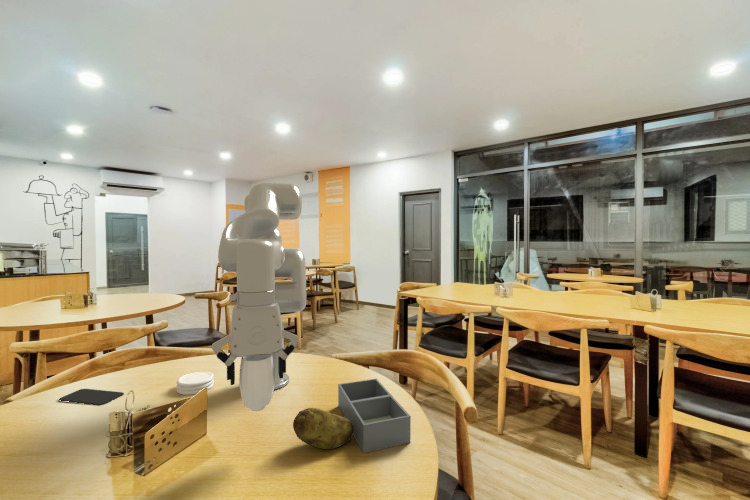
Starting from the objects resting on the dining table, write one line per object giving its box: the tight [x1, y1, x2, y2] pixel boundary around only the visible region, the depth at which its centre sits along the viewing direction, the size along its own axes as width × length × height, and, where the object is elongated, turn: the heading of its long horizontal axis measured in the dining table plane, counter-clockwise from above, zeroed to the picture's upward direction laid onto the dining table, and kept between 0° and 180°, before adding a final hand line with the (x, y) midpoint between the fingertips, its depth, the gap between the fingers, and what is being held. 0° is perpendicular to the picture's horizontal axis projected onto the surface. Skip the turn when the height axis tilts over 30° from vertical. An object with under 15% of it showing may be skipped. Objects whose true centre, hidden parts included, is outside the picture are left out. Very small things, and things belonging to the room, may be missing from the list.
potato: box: [292, 407, 354, 450], centre depth 77 cm, size 8×13×8 cm, turn 87°
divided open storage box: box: [337, 378, 412, 454], centre depth 87 cm, size 22×11×6 cm, turn 20°
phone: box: [58, 388, 125, 406], centre depth 100 cm, size 7×1×15 cm
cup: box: [239, 354, 275, 412], centre depth 74 cm, size 7×7×21 cm
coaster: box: [176, 371, 215, 396], centre depth 107 cm, size 10×10×4 cm
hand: (257, 379), depth 74 cm, fingers open, 9 cm apart
